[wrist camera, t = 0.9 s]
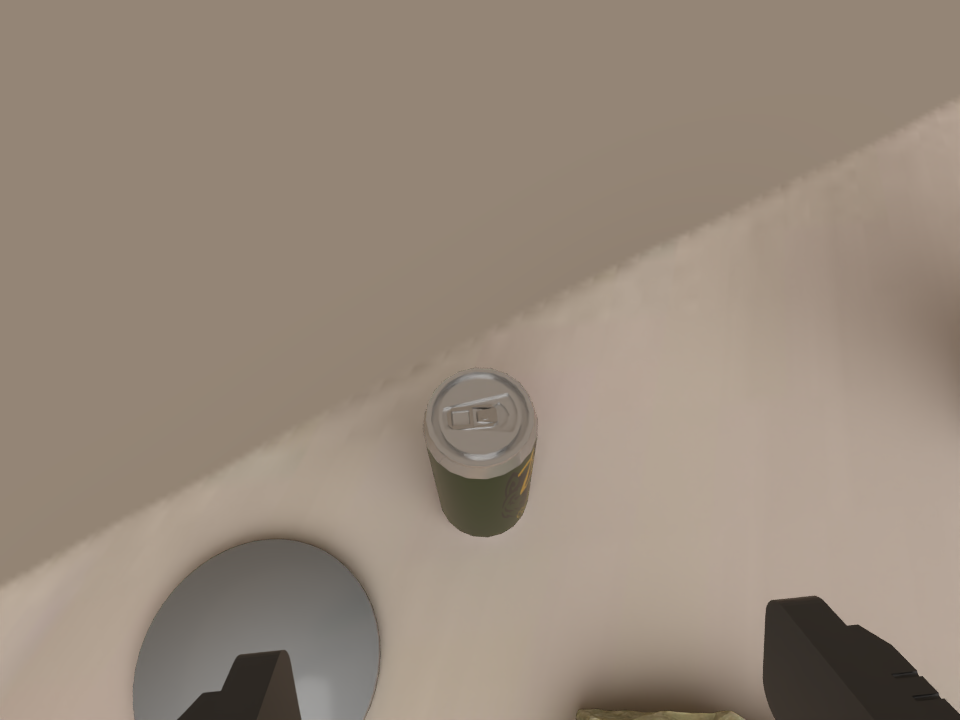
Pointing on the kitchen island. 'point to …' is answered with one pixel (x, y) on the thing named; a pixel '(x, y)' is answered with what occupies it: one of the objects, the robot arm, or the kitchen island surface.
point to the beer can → (481, 449)
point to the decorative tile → (653, 715)
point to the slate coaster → (263, 631)
